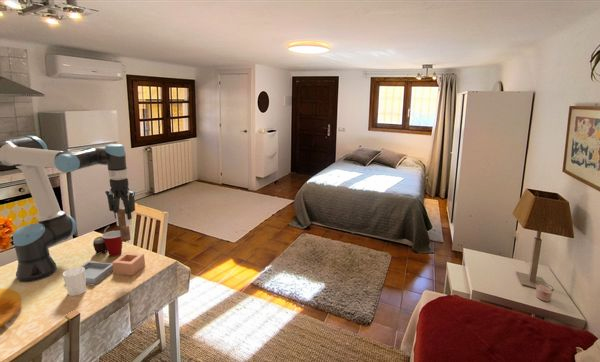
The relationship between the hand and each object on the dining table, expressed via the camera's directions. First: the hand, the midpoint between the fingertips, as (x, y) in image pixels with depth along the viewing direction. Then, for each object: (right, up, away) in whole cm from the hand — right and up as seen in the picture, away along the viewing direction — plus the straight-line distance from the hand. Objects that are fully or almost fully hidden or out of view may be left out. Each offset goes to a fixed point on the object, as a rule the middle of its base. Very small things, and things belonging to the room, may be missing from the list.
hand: (124, 225), depth 154 cm
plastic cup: (-16, -19, +20) cm, 32 cm away
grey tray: (-15, -24, 0) cm, 29 cm away
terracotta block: (-1, -23, +6) cm, 24 cm away
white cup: (-14, -28, -13) cm, 33 cm away
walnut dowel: (0, -7, +2) cm, 8 cm away
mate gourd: (-24, -18, +22) cm, 37 cm away
